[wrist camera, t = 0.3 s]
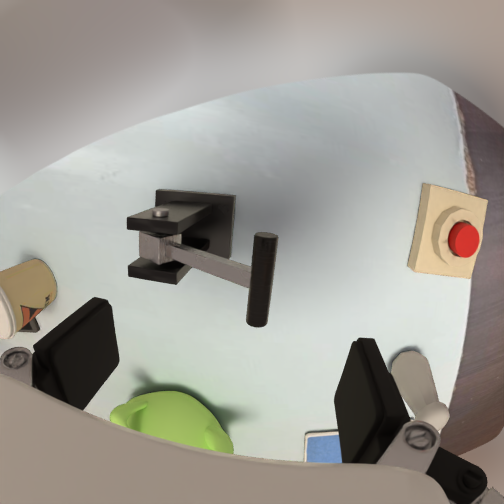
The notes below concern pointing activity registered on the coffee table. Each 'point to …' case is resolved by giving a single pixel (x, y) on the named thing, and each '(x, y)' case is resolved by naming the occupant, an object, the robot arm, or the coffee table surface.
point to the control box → (444, 231)
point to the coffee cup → (24, 295)
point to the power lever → (222, 266)
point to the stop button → (463, 239)
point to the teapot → (173, 420)
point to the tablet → (322, 447)
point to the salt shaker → (419, 388)
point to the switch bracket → (185, 229)
